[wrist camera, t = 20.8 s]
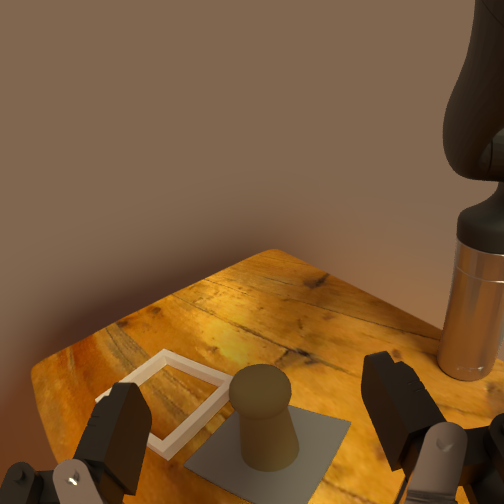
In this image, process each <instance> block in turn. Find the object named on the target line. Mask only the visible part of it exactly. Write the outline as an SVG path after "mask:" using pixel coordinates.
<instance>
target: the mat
mask: <svg viewBox="0 0 504 504" xmlns="http://www.w3.org/2000/svg"><path fill="white" fill-rule="evenodd" d="M287 407H288V410H289V413H290V416H291V419H292V423H293V426H294V429H295V432H296V435H297V439H298V442H299V449H300V450H299V453H298V456H297V458H296V459H295V460H294V462H293V463H292V464H291V465H289V466H288V467H286V468H285V469H282V470H279V471H276V472H262V471H257V470H255V469H253V468H251V467H249V466H248V465H247V464H246V463H245V462H244V460H243V458H242V455H241V443H240V423H239V414H238V413H237V411H236V410H235V411H234V412H233V413H232V414H231V415H230V416H229V417H228V418H227V420H226V421H225V422H224V423H223V424H222V425H221V426H220V427H219V428H218V429H217V430H216V431H215V432H214V433H213V435H212V436H211V437H210V438H209V439H208V440H207V441H206V442H205V443H204V444H203V445H202V446H201V447H200V448H199V449H198V450H197V451H196V452H195V453H194V454H193V455H192V456H191V457H190V458H189V459H188V460H187V461H186V462H185V463H184V464H183V465H184V467H186V468H187V469H189V470H191V471H192V472H194V473H196V474H197V475H199V476H201V477H203V478H204V479H206V480H208V481H210V482H211V483H213V484H215V485H217V486H219V487H221V488H223V489H225V490H226V491H228V492H230V493H232V494H234V495H236V496H238V497H240V498H243V499H245V500H247V501H249V502H251V503H253V504H307V503H308V501H309V500H310V498H311V497H312V495H313V493H314V492H315V490H316V488H317V487H318V485H319V483H320V482H321V480H322V478H323V476H324V475H325V473H326V471H327V469H328V468H329V466H330V464H331V462H332V460H333V458H334V456H335V455H336V453H337V451H338V449H339V447H340V445H341V443H342V441H343V439H344V437H345V435H346V433H347V431H348V429H349V427H350V425H351V422H349V421H345V420H341V419H337V418H333V417H329V416H325V415H322V414H318V413H314V412H311V411H307V410H304V409H301V408H297V407H294V406H291V405H288V406H287Z"/></svg>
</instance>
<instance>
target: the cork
mask: <svg viewBox="0 0 504 504" xmlns="http://www.w3.org/2000/svg"><path fill="white" fill-rule="evenodd" d="M228 395H229V399H230V402H231V404H232V407H233V408H234V409H235V410H236V411H237V413H238V414H239V423H240V443H241V455H242V458H243V460H244V462H245V463H246V464H247V465H248V466H249V467H251V468H253V469H255V470H257V471H262V472H276V471H279V470H282V469H285V468H286V467H288V466H289V465H291V464H292V463H293V462H294V460H295V459H296V458H297V456H298V453H299V450H300V449H299V442H298V439H297V435H296V432H295V429H294V426H293V423H292V419H291V416H290V413H289V410H288V407H287V406H288V404H289V401H290V398H291V395H292V394H291V383H290V381H289V379H288V377H287V376H286V374H285V373H284V372H282V371H281V370H280V369H278V368H277V367H275V366H272V365H267V364H256V365H251V366H248V367H245V368H244V369H242V370H240V371H239V372H238V373H237V374H235V376H234V377H233V379H232V381H231V382H230V384H229V394H228Z"/></svg>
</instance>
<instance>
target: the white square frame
mask: <svg viewBox="0 0 504 504" xmlns="http://www.w3.org/2000/svg"><path fill="white" fill-rule="evenodd" d="M167 364H168V365H170V366H172V367H174V368H176V369H179V370H181V371H183V372H185V373H187V374H190V375H192V376H194V377H196V378H199V379H201V380H203V381H206V382H208V383H210V384H213V385H215V386H218V387H219V388H218V389H217V390H216V391H215V392H214V393H213V394H212V395H211V396H210V397H209V398H207V399H206V400H205V401H204V402H203V403H202V404H201V405H200V406H199V407H198V408H197V409H196V410H195V411H194V412H193V413H192V414H191V415H190V416H189V417H188V418H187V419H186V420H185V421H183V422H182V423H181V424H180V425H179V426H178V427H177V428H176V429H175V430H174V431H173V432H172V433H170V434H169V435H168V436H167V437H166V438H165V439H164V440H163V441H162V440H161V439H159V438H158V437H156V436H155V435H153V434H152V433H149V438H148V442H147V447H149V448H150V449H152V450H153V451H154V452H156V453H157V454H159V455H160V456H162V457H163V458H164V459H166V460H167V461H169V460H170V459H171V458H172V457H173V456H174V455H175V454H176V453H177V452H178V451H179V450H180V449H181V448H182V447H183V446H184V445H185V444H186V443H187V442H189V441H190V440H191V439H192V438H193V437H194V436H195V435H196V434H197V433H198V432H199V431H200V430H201V429H202V428H203V427H204V426H205V425H206V424H207V423H208V422H209V421H210V419H211V418H212V417H213V416H214V415H215V414H216V413H217V412H218V411H219V410H220V409H221V408H222V407H223V406H224V405H225V404H226V403H227V402H228V401H229V400H230V399H229V395H228V394H229V384H230V382H231V381H232V379H233V377H234V376H231V375H228V374H226V373H223V372H220V371H218V370H215V369H212V368H210V367H207V366H205V365H202V364H200V363H197V362H195V361H192V360H190V359H187V358H185V357H183V356H180V355H178V354H176V353H173V352H171V351H169V350H166V349H163V350H162V351H160V352H159V353H158V354H156V355H155V356H153V357H152V358H151V359H149V360H148V361H147V362H145V363H144V364H143V365H141V366H140V367H139V368H137V369H136V370H135V371H133V372H132V373H130V374H129V375H128V376H126V377H125V378H124V379H122V380H121V381H120V382H134V383H136V384H137V385H138V386H140V385H141V384H142V383H144V382H145V381H146V380H147V379H149V378H150V377H151V376H153V375H154V374H155V373H156V372H158V371H159V370H160V369H162V368H163V367H164V366H165V365H167ZM111 389H112V387H111V388H110V389H109V390H107V391H106V392H104V393H103V394H102V395H100V396H99V397H97V398H96V399H95V401H96V403H98V402H99V401H100V400H101V399H102V397H103V396H109V393H110V391H111Z"/></svg>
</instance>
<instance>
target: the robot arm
mask: <svg viewBox="0 0 504 504" xmlns="http://www.w3.org/2000/svg"><path fill="white" fill-rule="evenodd" d="M443 146H444V151H445V154H446V158H447V160H448V162H449V164H450V166H451V167H452V169H453V170H454V171H455V172H456V173H457V174H458V175H460V176H462V177H465V178H468V179H472V180H483V181H497V182H499V183H498V187H497V190H496V191H495V193H494V194H493V195H492V196H490V197H489V198H488V199H487V200H485V201H483V202H481V203H479V204H477V205H474V206H472V207H469V208H466V209H465V210H463V211H462V212H461V213H460V215H459V217H458V222H457V238H456V250H455V259H454V268H453V276H452V283H451V289H450V296H449V301H448V307H447V312H446V317H445V322H444V327H443V331H442V335H441V339H440V344H439V348H438V352H437V362H438V364H439V366H440V368H441V369H442V370H443V371H444V372H445V373H446V374H448V375H449V376H451V377H453V378H456V379H459V380H464V381H474V380H479V379H481V378H483V377H485V376H487V375H488V374H489V373H490V371H491V370H492V368H493V365H494V363H495V360H496V357H497V354H498V352H499V349H500V346H501V344H502V341H503V338H504V0H475V11H474V20H473V26H472V33H471V38H470V43H469V47H468V52H467V56H466V59H465V62H464V65H463V67H462V70H461V73H460V75H459V78H458V80H457V82H456V85H455V87H454V89H453V92H452V94H451V96H450V99H449V102H448V104H447V108H446V112H445V117H444V123H443ZM361 394H362V399H363V402H364V404H365V407H366V409H367V411H368V414H369V416H370V418H371V421H372V423H373V426H374V428H375V430H376V433H377V435H378V438H379V440H380V442H381V445H382V447H383V450H384V452H385V455H386V457H387V460H388V462H389V465H390V467H391V470H392V472H393V471H395V470H398V469H401V468H402V469H403V471H404V474H405V476H404V478H403V481H402V483H401V486H400V488H399V491H398V493H397V495H396V498H395V500H394V502H393V504H458V502H457V501H455V495H456V491H457V488H458V486H463V488H464V491H465V493H466V496H467V498H468V501H469V503H470V504H504V413H502V414H499V415H498V416H496V417H495V418H494V419H493V420H492V422H491V424H490V425H489V426H485V427H479V428H473V429H463V428H462V427H461V426H459V425H457V424H455V423H452V422H447V421H446V419H445V418H444V416H443V415H442V413H441V412H440V410H439V408H438V407H437V405H436V404H435V402H434V400H433V399H432V397H431V396H430V394H429V393H428V391H427V389H426V390H425V386H424V385H423V383H422V382H421V381H420V379H419V377H418V376H417V374H416V373H415V371H414V370H413V368H411V367H410V366H408V365H407V364H405V363H404V362H402V361H400V362H397V363H394V361H393V360H392V358H391V356H390V355H389V353H388V352H387V351H382V352H378V353H374V354H370V355H366V356H365V358H364V364H363V373H362V381H361ZM151 425H152V416H151V411H150V409H149V407H148V405H147V403H146V401H145V399H144V397H143V395H142V393H141V391H140V389H139V387H138V385H137V384H136V383H134V382H116V383H114V384H113V386H112V389H111V391H110V393H109V396H103V397H102V399H101V400H100V401H99V402H98V403H97V404H96V405H95V407H94V409H93V412H92V414H91V418H89V421H88V423H87V426H86V428H85V430H84V432H83V435H82V437H81V440H80V442H79V444H78V447H77V449H76V452H75V454H74V457H73V459H68V460H65V461H63V462H61V463H60V464H59V465H57V467H56V468H55V470H52V471H35V470H34V469H33V468H32V467H31V466H30V465H29V464H28V463H25V462H18V463H15V464H13V465H12V466H11V467H10V468H9V469H8V471H7V473H6V475H5V478H4V480H3V483H2V486H1V488H0V504H124V502H123V496H124V494H127V495H134V496H135V495H136V490H137V485H138V481H139V476H140V472H141V467H142V463H143V459H144V454H145V450H146V446H147V442H148V438H149V433H150V429H151Z"/></svg>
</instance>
